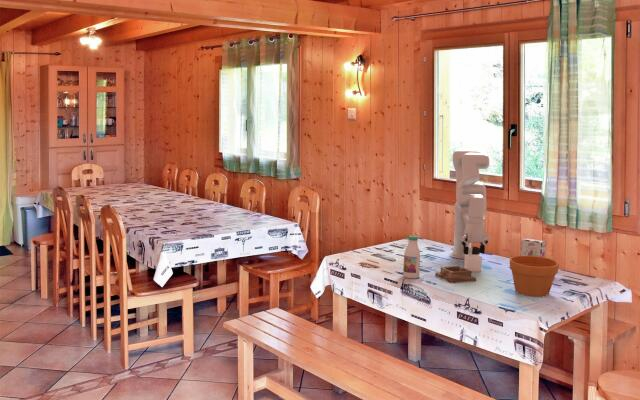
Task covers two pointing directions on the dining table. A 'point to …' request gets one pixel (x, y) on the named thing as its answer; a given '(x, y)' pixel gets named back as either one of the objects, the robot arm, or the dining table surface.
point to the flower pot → (533, 274)
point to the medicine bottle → (473, 260)
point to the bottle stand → (455, 274)
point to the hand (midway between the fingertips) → (473, 253)
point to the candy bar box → (533, 247)
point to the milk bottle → (411, 258)
